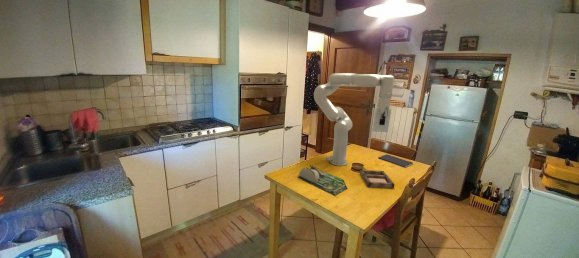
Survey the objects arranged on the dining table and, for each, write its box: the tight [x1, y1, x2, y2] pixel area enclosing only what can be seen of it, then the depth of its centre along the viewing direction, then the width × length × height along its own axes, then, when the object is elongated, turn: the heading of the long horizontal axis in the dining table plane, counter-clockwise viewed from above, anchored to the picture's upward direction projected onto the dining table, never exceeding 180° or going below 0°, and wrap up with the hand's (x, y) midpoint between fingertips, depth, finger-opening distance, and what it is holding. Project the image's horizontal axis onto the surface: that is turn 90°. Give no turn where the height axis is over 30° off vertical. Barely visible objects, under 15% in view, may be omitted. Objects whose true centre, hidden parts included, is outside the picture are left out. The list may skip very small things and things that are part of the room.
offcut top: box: [368, 178, 387, 183], centre depth 144 cm, size 10×7×2 cm
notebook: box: [377, 153, 414, 169], centre depth 182 cm, size 13×2×21 cm
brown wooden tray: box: [359, 169, 396, 189], centre depth 147 cm, size 15×18×4 cm
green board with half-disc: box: [296, 164, 348, 197], centre depth 146 cm, size 33×8×20 cm
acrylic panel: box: [371, 107, 392, 133], centre depth 153 cm, size 9×3×15 cm, turn 88°
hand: (380, 123), depth 154 cm, fingers closed on acrylic panel, 3 cm apart
